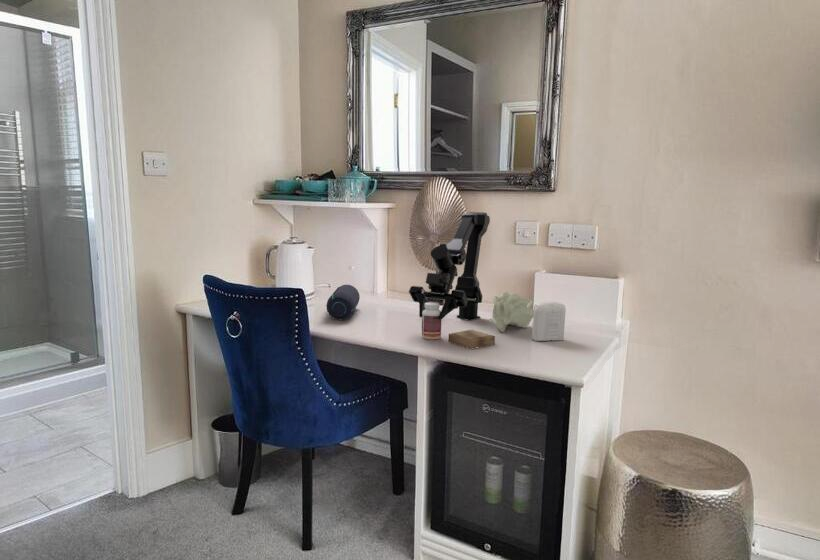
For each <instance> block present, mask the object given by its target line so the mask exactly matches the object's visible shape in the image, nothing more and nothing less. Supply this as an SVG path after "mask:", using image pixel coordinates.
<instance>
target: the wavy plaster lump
mask: <svg viewBox="0 0 820 560" xmlns="http://www.w3.org/2000/svg"><path fill="white" fill-rule="evenodd" d="M492 299H493V309H492V315H491V316H492V317H491V321H492V323H493V324H494V325H495V326H496V327H497V329H498V331H499V332H500V333H504V332H505V330H506V327H508V325H510V326H511V325H513V326H515V327H518V328H524V329H527V328H528V326H529V325H530V323H531V322H532V321H533V313H534V309H531V307H532V303H533V300H532V299H530V298H528V297H521V296H519V295H518V294H510V293H509V292H507V291H503V292H502V293H501V294H500V295H499V297H498V296H496V295H495V296H494V298H492Z"/></svg>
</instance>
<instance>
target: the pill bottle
mask: <svg viewBox="0 0 820 560" xmlns="http://www.w3.org/2000/svg"><path fill="white" fill-rule="evenodd" d="M424 307H425V310H423V312H422V317H421V338H423V339H424V340H429V341H430V340H434V341H435V340H438V339H439V340H440V338H441V337H442V319H441V320H439V315H440V313H441V310H440V302H435V301H433V302H432V301H430V302H428V301H427V303H425V305H424Z"/></svg>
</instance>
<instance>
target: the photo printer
mask: <svg viewBox="0 0 820 560" xmlns="http://www.w3.org/2000/svg"><path fill="white" fill-rule="evenodd" d="M533 310H534V313H533V318H532V328H531V329H532V330H531V339H532V340H533V341H535V342H541V341H542V342H544V341H546V342H548V341H549V342H550V341H551V340H552V341H564V337H565V323H566V305H565V304H563V303H562V302H558V301H548V300H547V301H543V302H538V303H536V304H535V305H534V307H533Z"/></svg>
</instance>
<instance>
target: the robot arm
mask: <svg viewBox="0 0 820 560" xmlns="http://www.w3.org/2000/svg"><path fill="white" fill-rule="evenodd" d="M460 218H461V220H460V223H459V225H458V227H457V228H456V229H457V230H456V232H455V234H454V236H453V238H452V240H451V241H448V243H440V244H439V245H438V246H435V247H434V248H432V250H431V251H430V256H431V259H432V261H433V263H434V264H433V265H434V266H435V268H436V269H437V270H438V271H437V273H432V272H427V275H426V279H425V284H427V285H428V287H427V288H428V289H429V290H430V291H429V290H428V291H427V290H425V289H424V287H423V286H420V285H411V286H410V288H409V290H408V293H409V295H410V297H411V299H412V300H413V301H414V302H416V303H418V307H419V310H418V312H419V313H418V317H420V318H422V312H423V310H425V307H424V305H425V303H427V302H428V299H434V300H443V301H444V303H443V306H442V307H441V310H440V311H441V313H440V315H439V320H441V321H442V320H443V319H444V318H445V317H446V316H447V315H448V314H450V313H451V312H452V311H454V310H457V309H458V314H457V315H456V318H460V319H464V320H468V321H469V320H476V319H481V316H480V315H478V310H479V309H478V308H479V307H478V306H479V304H481V303H482V302H483V294H482V291H481V288H480V281H479V279H478V277H477V271H478V264H479V260H480V259H479V257H480V250H481V245H482V238H483V236H484V235H485V234H486V233H487V231H488V228H489V225H490V221H491V219H490V218H491V217H490V216H489V215H488V213H487V212H477V211H470V212H468V213H466V212H464V213H462V214H461V217H460ZM463 264H464V267H463V272H462V274H461V275H460V276H458V268H457V266H461V265H463ZM455 277H457V280H456V285H455V288H454V289H453V287H454V286H453V283H454V280H455ZM450 290H451V293H450Z"/></svg>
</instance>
